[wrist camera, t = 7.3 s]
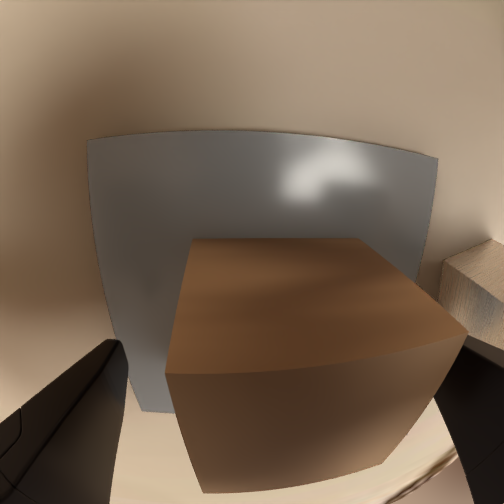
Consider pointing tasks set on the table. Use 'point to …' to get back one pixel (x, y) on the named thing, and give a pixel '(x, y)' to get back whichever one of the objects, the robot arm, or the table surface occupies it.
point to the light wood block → (476, 291)
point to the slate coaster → (235, 216)
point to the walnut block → (300, 360)
